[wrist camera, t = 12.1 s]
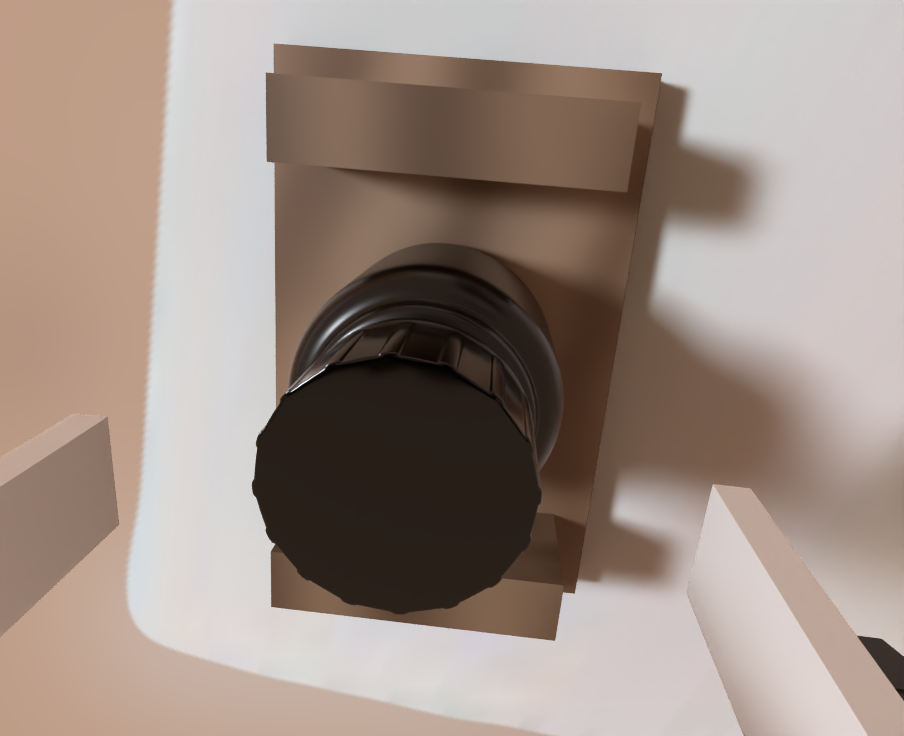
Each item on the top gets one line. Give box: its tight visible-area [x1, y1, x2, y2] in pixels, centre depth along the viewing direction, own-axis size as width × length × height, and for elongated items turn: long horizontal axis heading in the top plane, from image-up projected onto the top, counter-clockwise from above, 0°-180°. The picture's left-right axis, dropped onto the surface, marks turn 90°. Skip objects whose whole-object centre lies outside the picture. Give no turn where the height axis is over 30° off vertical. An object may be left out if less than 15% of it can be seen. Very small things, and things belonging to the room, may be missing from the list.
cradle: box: [266, 44, 662, 641], centre depth 24 cm, size 14×22×6 cm, turn 175°
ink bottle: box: [252, 243, 564, 615], centre depth 20 cm, size 10×9×12 cm
